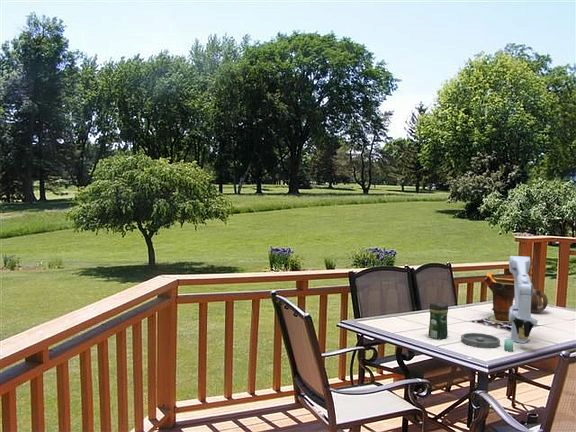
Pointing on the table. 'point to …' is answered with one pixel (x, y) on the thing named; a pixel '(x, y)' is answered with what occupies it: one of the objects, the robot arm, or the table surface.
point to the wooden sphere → (538, 301)
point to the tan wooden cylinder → (522, 333)
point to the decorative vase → (500, 297)
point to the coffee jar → (438, 320)
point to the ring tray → (480, 340)
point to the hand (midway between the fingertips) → (523, 335)
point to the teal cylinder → (508, 345)
